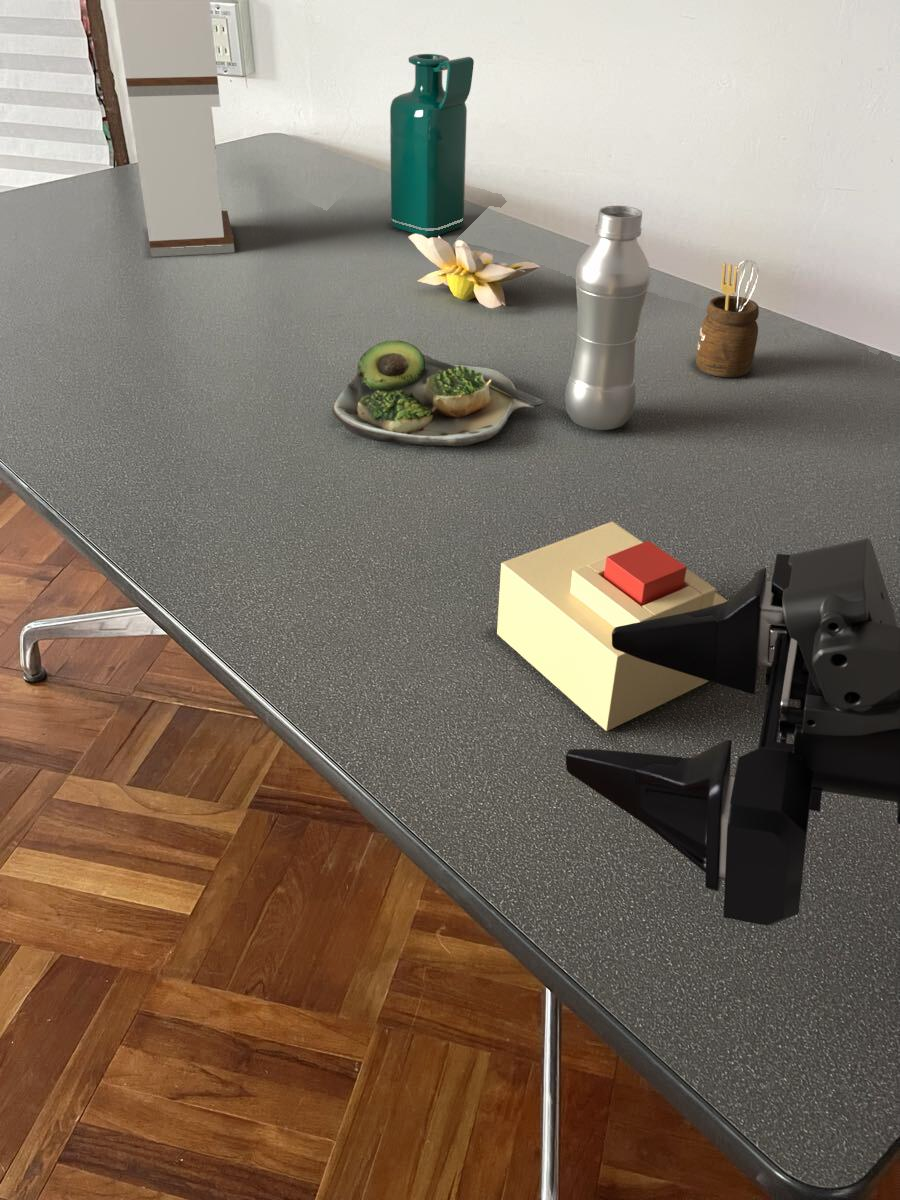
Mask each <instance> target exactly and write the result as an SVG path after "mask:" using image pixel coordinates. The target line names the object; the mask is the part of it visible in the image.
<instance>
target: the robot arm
mask: <svg viewBox="0 0 900 1200" xmlns="http://www.w3.org/2000/svg"><path fill="white" fill-rule="evenodd" d="M753 575H754V576H753V578H752V579H751V580H750V581H749V582H748V583H747V584H746V585H745V586H743V587H742V588H741V589H740V590H739V591H738V592H737V593H735V595H733V596H732V597H731V598H729V599H728V600H727V601H726V602H724V603H721V604H718V605H714V606H710V607H707V608H703V609H699V610H695V611H691V612H686V613H683V614H682V613H681V614H676V615H672V616H667V617H662V618H657V619H652V620H647V621H642V622H638V623H633V624H628V625H623V626H618V627H615V628H614V629H613V632H612V646H613V648H615V649H616V650H619V651H621V652H624V653H626V654H629V655H631V656H634V657H636V658H639V659H641V660H644V661H647V662H651V663H654V664H657V665H660V666H663V667H667V668H670V669H673V670H676V671H679V672H682V673H686V674H689V675H692V676H695V677H698V678H702V679H705V680H708V681H709V682H712V683H714V684H718V685H720V686H724V687H726V688H730V689H733V690H736V691H739V692H743V693H746V694H749V695H753V696H755V694H756V690H757V684H758V679H759V674H760V668H761V667H766V671H765V681H764V683H765V684H764V685H766V686H767V687H768V688H767V694H766V700H765V705H764V711H763V718H762V723H761V730H760V734H759V735H760V736H759V742H758V745H757V746H758V747H757V748H756V749H754V750H752V751H749V752H747V753H745V754H742V755H740V756H738V758H737V763H736V768H735V775H731V764H732V763H731V762H732V739H724V740H723V741H721V742H719V743H717V744H714V745H713V746H711V747H709V748H708V749H705V750H703V751H702V752H700V753H697V754H696V755H694V756H690V757H681V756H673V755H663V754H653V753H641V752H632V751H623V750H614V749H613V750H612V749H601V748H599V749H598V748H572V749H569V750H567V752H566V755H565V767H566V771H567V773H568V774H569V775H570V776H572V777H574V778H575V779H577V780H578V781H580V782H581V783H582V784H585V785H586V786H587V787H588V788H590V789H591V790H592V791H595V792H596V793H598V794H599V795H600V796H603V798H605V799H606V800H607V801H610V802H611V803H612V804H614V805H615V806H617V807H619V808H620V809H621V810H623V811H624V812H625V813H627V814H629V815H630V816H631V817H633V818H635V819H636V820H638V822H640V823H641V824H643V825H645V826H646V827H648V828H649V829H650V830H652V831H653V832H654V833H656V834H657V835H658V836H660V837H661V838H662V839H663V840H664V841H666V842H667V843H668V844H669V845H670V846H671V847H673V849H675V850H677V851H678V853H680V854H682V855H683V856H684V857H685V858H687V859H688V860H689V861H690V862H691V863H693V864H694V865H695V866H696V867H697V868H699V869H700V870H702V872H704V873H705V879H704V880H705V881H704V882H705V884H704V885H705V888H706V889H708V890H711V891H715V892H719V890H720V886H721V882H722V881H721V880H724V898H723V918H725V919H730V920H735V921H740V922H745V923H752V924H755V925H760V926H773V925H776V924H778V923H780V922H783V921H786V920H787V919H791V918H792V917H795V916H797V915H799V912H800V903H801V895H802V884H803V875H804V866H805V856H806V846H807V837H808V827H809V816H810V811H812V812H813V811H815V812H821V804H822V796H823V792H825V793H831V794H837V795H844V796H852V797H856V798H857V797H858V798H864V799H872V800H877V801H878V800H879V801H886V802H890V803H891V802H892V803H896V804H897V811H896V813H897V814H896V815H897V816H896V817H897V818H896V824H898V825H900V627H899V626H898V625H897V621H896V616H895V612H894V609H893V608H894V607H893V604H892V602H891V599H890V595H889V593H888V590H887V587H886V584H885V580H884V577H883V573H882V571H881V567H880V565H879V561H878V557H877V555H876V551H875V549H874V546H873V543H872V541H871V540H870V539H869V538H868V537H866V538H860V539H856V540H852V541H851V540H850V541H847V542H842V543H839V544H834V545H827V546H823V547H819V548H814V549H809V550H804V551H801V552H795V553H791V554H783V553H776V558H775V563H774V568H773V573H772V578H771V581H769V580H767V567H762V568H760V569H758V570H757V571H755V573H754V574H753ZM791 700H794V701H799V707H795V706H790V703H791V702H790V701H791ZM778 735H779V736H778ZM788 735H794V737H793V743H789V742H787V741H788Z"/></svg>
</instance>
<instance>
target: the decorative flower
mask: <svg viewBox="0 0 900 1200" xmlns="http://www.w3.org/2000/svg"><path fill="white" fill-rule="evenodd" d="M408 239H409V240H410V241H411V243H413V244H414V246H415V248H417V249H418V251H419V252H420V253H421V254H422V255H423V256H424V257H425V258H427V259H428V260H429V261H430V262H431V263H433V264H434V265H435V266H436V267H438V268H440V269H438V270H435V271H432V272H429V273H428V274H426V275H424V276H423V277H421V278H420V279H418V280H417V282H420V283H423V284H427V285H431V286H439V285H442V284H444V286H445V285H446V286H448V287H449V290H450V292H451V294H452V295H453V296H454V297H455V298H457V299H459V300H460V301H466V302H468V301H471V300H472V299H474V298H476V299H477V301H478V303H479V304H480V305H482V306H483V307H485V308H487V309H488V308H489V309H494V308H495V309H496V308H497V307H500V306H502V305H503V306H506V300H505V293H504V290H503V286H502V284H501V283H506V282H509V281H510V282H511V281H513V280H516V279H518V278H521V277H524V276H526V275H528V274H530V273H531V272H534V271H536V270H538V269H539V268H542V266H540V265H538V264H537V263H534V262H533V261H532V262H529V261H522V262H516V263H512V264H509V263H506V262H499V261H498V262H493V259H494V256H493V253H489V252H484V251H481V250H474V251H472V250H471V248H470V246H469V245H468V244H467V243H466V242H465V241H463V240H461V239H458V240H456V241H455V242H454V244H453V247H452V246H451V244H450V243H449V242H448V241H447V240H444V238H442V237H441V236H440V235H438V236H437V237H436V236H433V237H426V236H423V235H420V234H414V233H412V234H411V235H409V236H408ZM506 265H507V266H506Z"/></svg>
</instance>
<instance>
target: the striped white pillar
mask: <svg viewBox="0 0 900 1200" xmlns="http://www.w3.org/2000/svg"><path fill="white" fill-rule="evenodd" d="M113 1H114V7H115V8H114V9H115V13H116V15H115V16H116V21H117V29H118V35H119V42H120V49H121V55H122V63H123V70H124V76H125V84H126V90H127V96H128V104H129V111H130V118H131V124H132V131H133V138H134V139H133V140H134V145H135V152H136V159H137V167H138V174H139V180H140V181H139V182H140V186H141V187H140V188H141V193H142V194H141V195H142V199H143V200H142V201H143V207H144V214H145V221H146V229H147V235H148V242H149V249H150V257H151V258H159V257H177V256H193V255H197V256H198V255H213V254H232V253H235V252H236V251H235V242H234V234H233V230H232V225H231V222H230V221H231V220H230V217H229V213H228V210H222V206H221V205H222V204H221V193H220V184H219V175H218V164H217V155H216V150H217V146H216V138H215V137H216V136H215V127H214V126H215V125H214V119H213V118H214V117H213V108H220V107H221V102H220V101H221V100H220V92H219V91H220V90H219V89H220V88H219V80H218V69H217V59H216V49H215V39H214V30H213V29H214V28H213V19H212V7H211V0H113ZM203 245H204V246H203ZM206 245H222V246H206ZM186 246H203V247H186ZM171 247H184V248H171Z"/></svg>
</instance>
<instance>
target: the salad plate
mask: <svg viewBox="0 0 900 1200" xmlns="http://www.w3.org/2000/svg"><path fill="white" fill-rule="evenodd" d="M543 403H544V401H543V399H542V398H539V397H537V396H534V395H532V394H529V393H526V392H524V391H521V390H519V389H516V388H515V385H514V384H513V382H512V381H511V380H510V378H508V377H507V376H505V374H504V373H503V374H502V372H500V371H498V370H496V369H492V368H488V367H480V366H470V365H462V364H460V365H459V364H452V363H447V362H443V361H440V360H438V359H435V358H432V357H431V356H429V355H427V354H423V353H422V351H421V350H420V349H419V348H418V347H417V346H415V345H414V344H413V343H410V342H407V341H404V340H397V339H396V340H385V341H383V342H380V343H377V344H375V345H373V346H372V347H370V348H368V350H366V352H364V353H363V355H361V357H360V359H359V360H358V362H357V371H356V373H355V374H354V375H353V377H352V378H351V379H350V381H349V382H348V384H347V385H346V386H345V388H344V389H343V390H342V391H341V393H340V395H339V396H338V397H337V398H336V400H335V403H334V404H333V405H332V409H331V412H332V415H333V416H334V417H335V419H336V420H337V421H338V422H339V423H340V424H341V425H342V426H343V427H344V428H345V429H346V430H347V431H348V432H350V433H351V434H354V435H356V436H359V437H361V438H366V439H368V440H373V441H380V442H390V443H391V442H393V443H396V444H401V445H411V446H412V445H417V446H450V447H465V446H466V447H467V446H470V445H474V444H477V443H481V442H484V441H487V440H489V439H491V438H493V437H495V436H496V435H497V434H499V432H500V431H501V430H502V429H503V428H504V426H505V425H506V423H507V421H508V418H509V417H510V416H511V414H512V413H513V412H514V411H516V410H518V409H521V408H537V407H541V406H542V405H543Z"/></svg>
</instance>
